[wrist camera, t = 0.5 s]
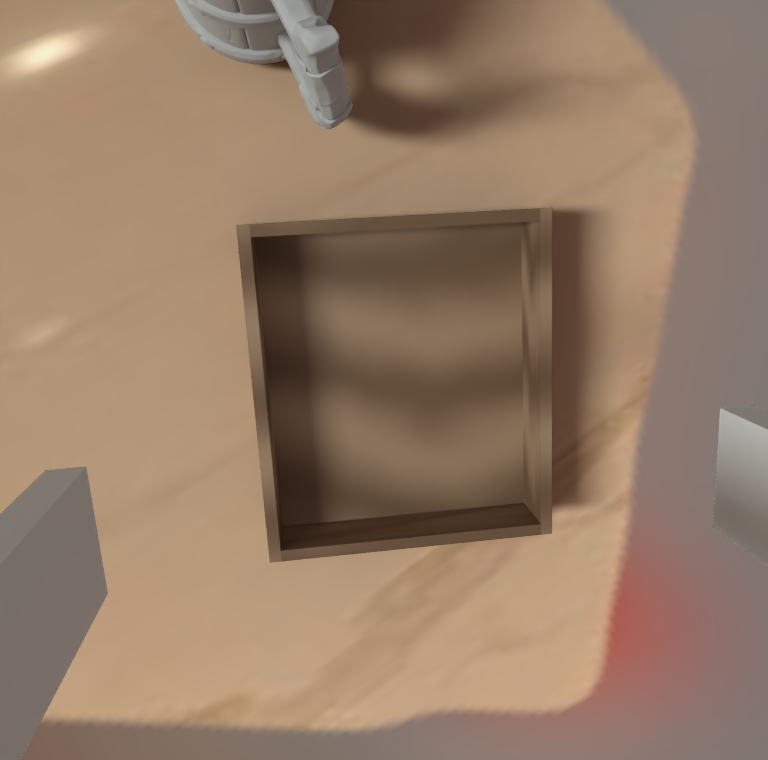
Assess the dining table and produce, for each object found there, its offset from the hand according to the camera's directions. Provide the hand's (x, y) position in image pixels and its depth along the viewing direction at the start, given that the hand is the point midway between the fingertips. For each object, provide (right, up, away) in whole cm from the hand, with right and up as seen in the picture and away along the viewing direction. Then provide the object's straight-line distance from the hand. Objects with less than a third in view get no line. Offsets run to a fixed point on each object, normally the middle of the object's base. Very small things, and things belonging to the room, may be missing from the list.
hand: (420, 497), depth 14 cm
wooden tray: (0, +3, +24) cm, 24 cm away
